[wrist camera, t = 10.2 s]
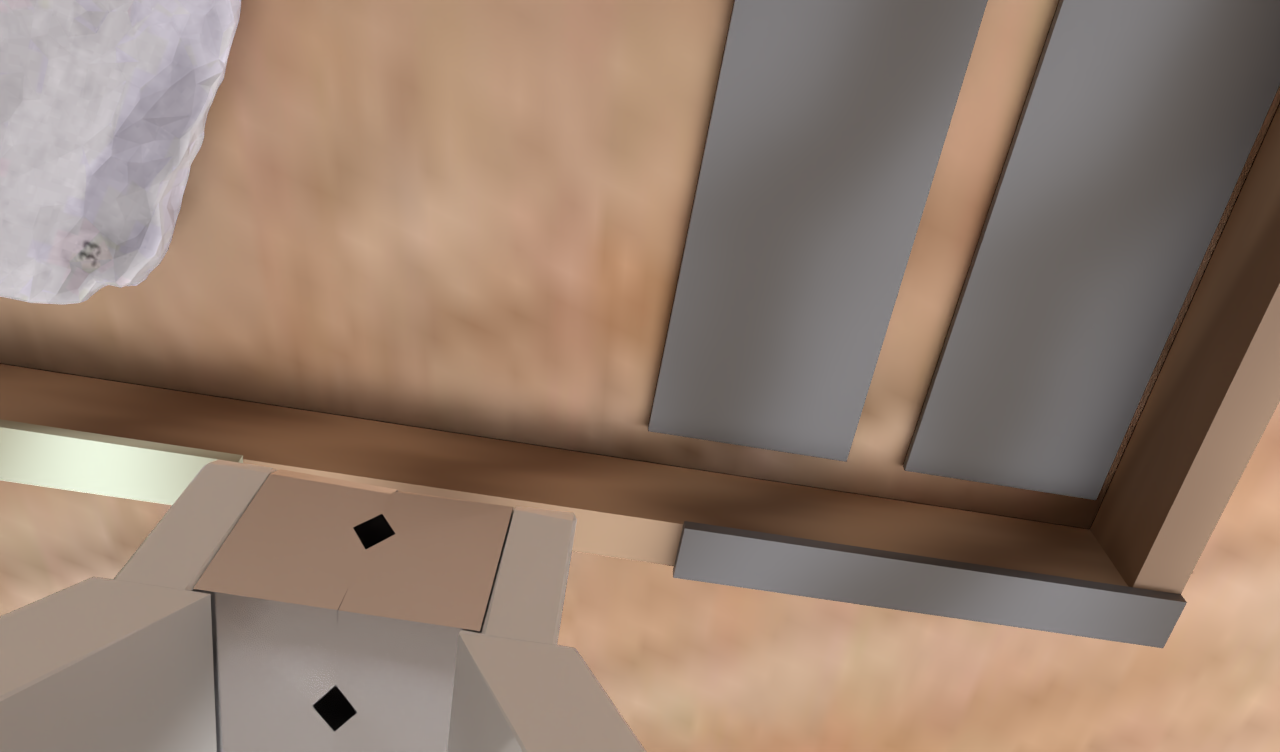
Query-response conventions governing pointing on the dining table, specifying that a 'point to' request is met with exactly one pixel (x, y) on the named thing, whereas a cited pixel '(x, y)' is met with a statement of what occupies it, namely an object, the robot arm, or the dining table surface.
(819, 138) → the box
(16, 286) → the stone block
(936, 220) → the dining table surface
